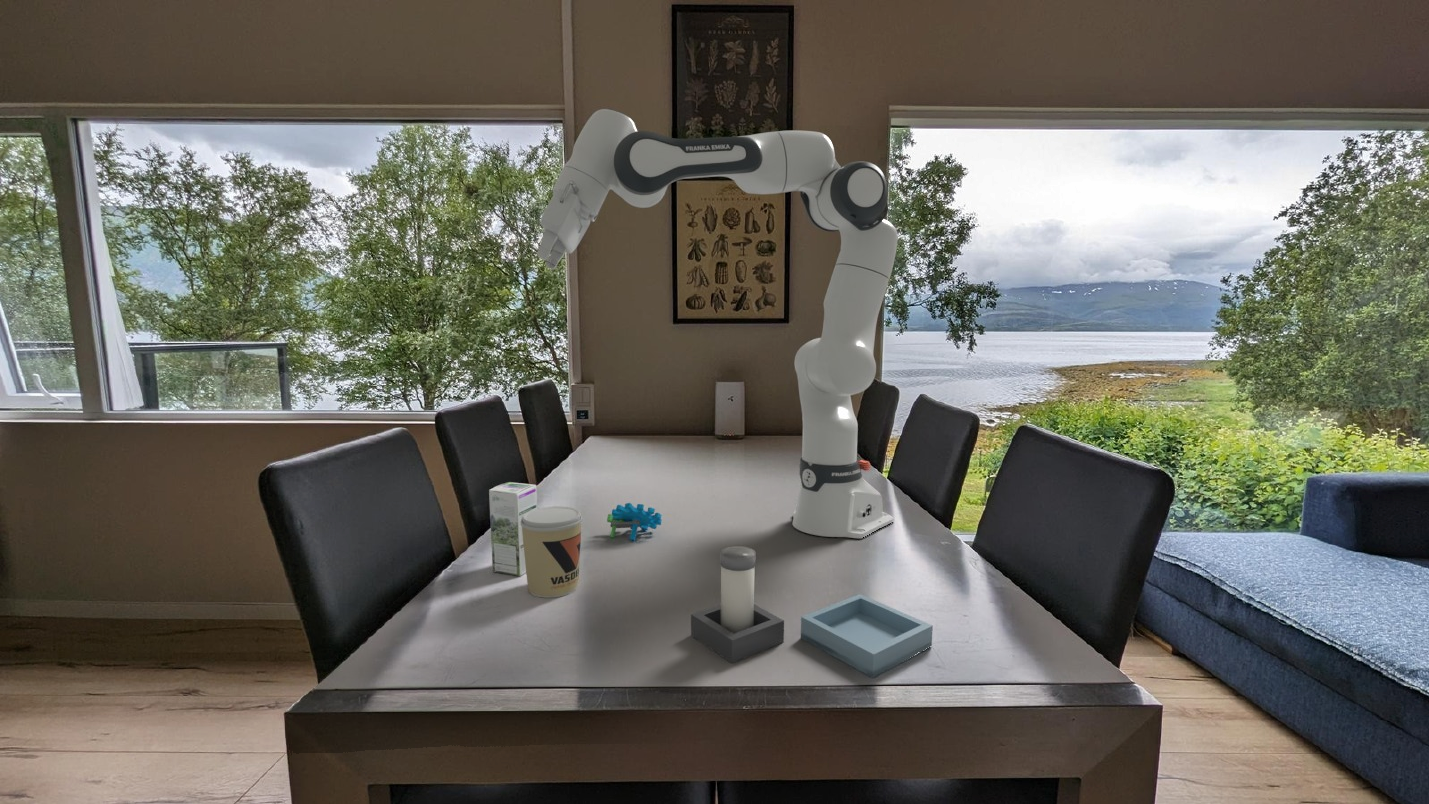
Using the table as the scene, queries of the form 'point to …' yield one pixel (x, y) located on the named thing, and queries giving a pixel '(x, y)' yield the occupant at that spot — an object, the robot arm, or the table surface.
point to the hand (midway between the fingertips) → (545, 263)
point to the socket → (741, 643)
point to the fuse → (737, 588)
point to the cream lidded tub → (552, 550)
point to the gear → (633, 519)
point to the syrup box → (509, 525)
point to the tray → (866, 634)
